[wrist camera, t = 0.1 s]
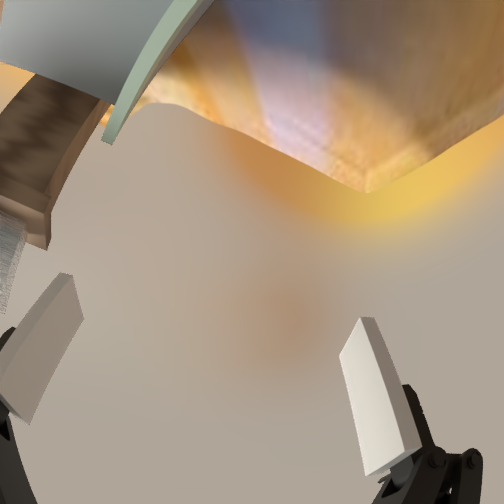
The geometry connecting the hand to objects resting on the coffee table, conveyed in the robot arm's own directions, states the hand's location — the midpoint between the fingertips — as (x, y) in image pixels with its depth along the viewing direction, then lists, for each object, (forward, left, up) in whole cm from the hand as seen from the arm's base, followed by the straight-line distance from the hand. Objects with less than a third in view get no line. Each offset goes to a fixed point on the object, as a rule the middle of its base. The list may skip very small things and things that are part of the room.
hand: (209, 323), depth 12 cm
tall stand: (-7, -21, -36) cm, 42 cm away
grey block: (-13, -8, -36) cm, 39 cm away
